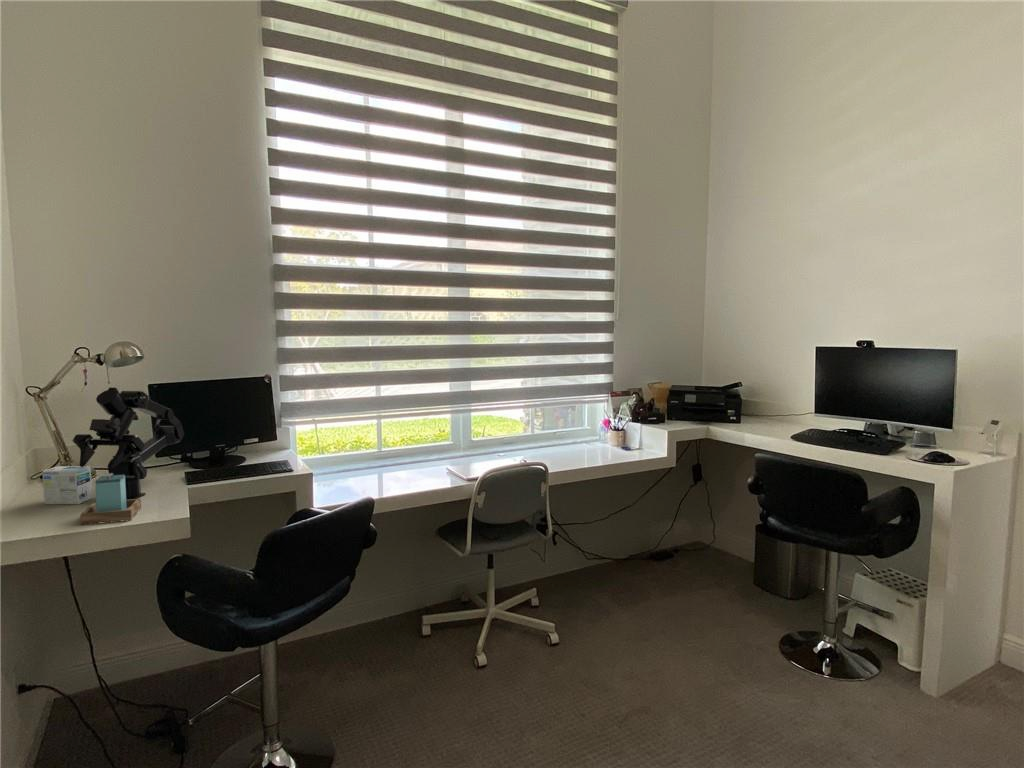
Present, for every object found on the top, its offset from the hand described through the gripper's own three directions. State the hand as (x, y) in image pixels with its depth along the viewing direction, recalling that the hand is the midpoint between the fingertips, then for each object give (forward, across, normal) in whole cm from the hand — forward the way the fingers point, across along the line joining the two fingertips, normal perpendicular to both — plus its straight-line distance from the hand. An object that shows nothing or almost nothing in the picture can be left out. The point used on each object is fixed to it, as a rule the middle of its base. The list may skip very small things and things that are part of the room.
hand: (96, 466), depth 174 cm
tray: (+13, +7, +6) cm, 16 cm away
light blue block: (+12, +7, +6) cm, 15 cm away
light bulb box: (+3, -16, +16) cm, 23 cm away
